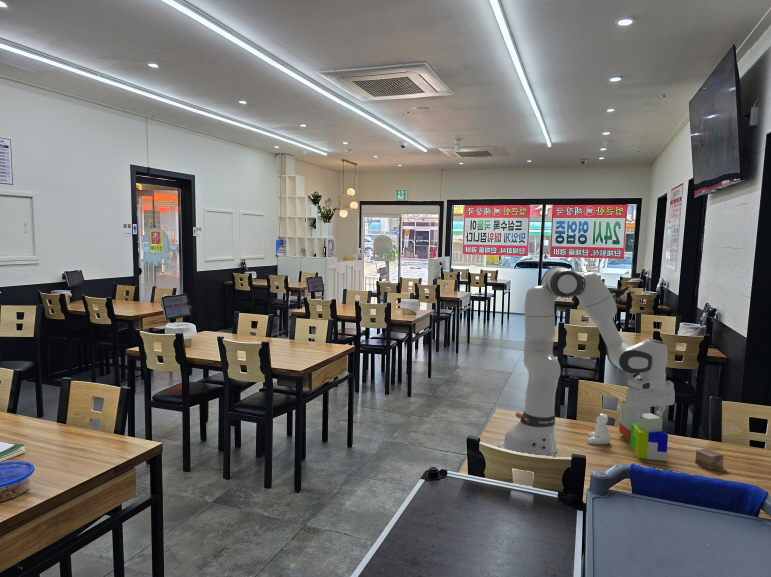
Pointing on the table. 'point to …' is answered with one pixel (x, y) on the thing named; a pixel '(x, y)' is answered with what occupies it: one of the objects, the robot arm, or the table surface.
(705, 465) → the brick
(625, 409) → the french fries container
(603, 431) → the white creature statuette
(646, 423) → the brick
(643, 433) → the puzzle toy
